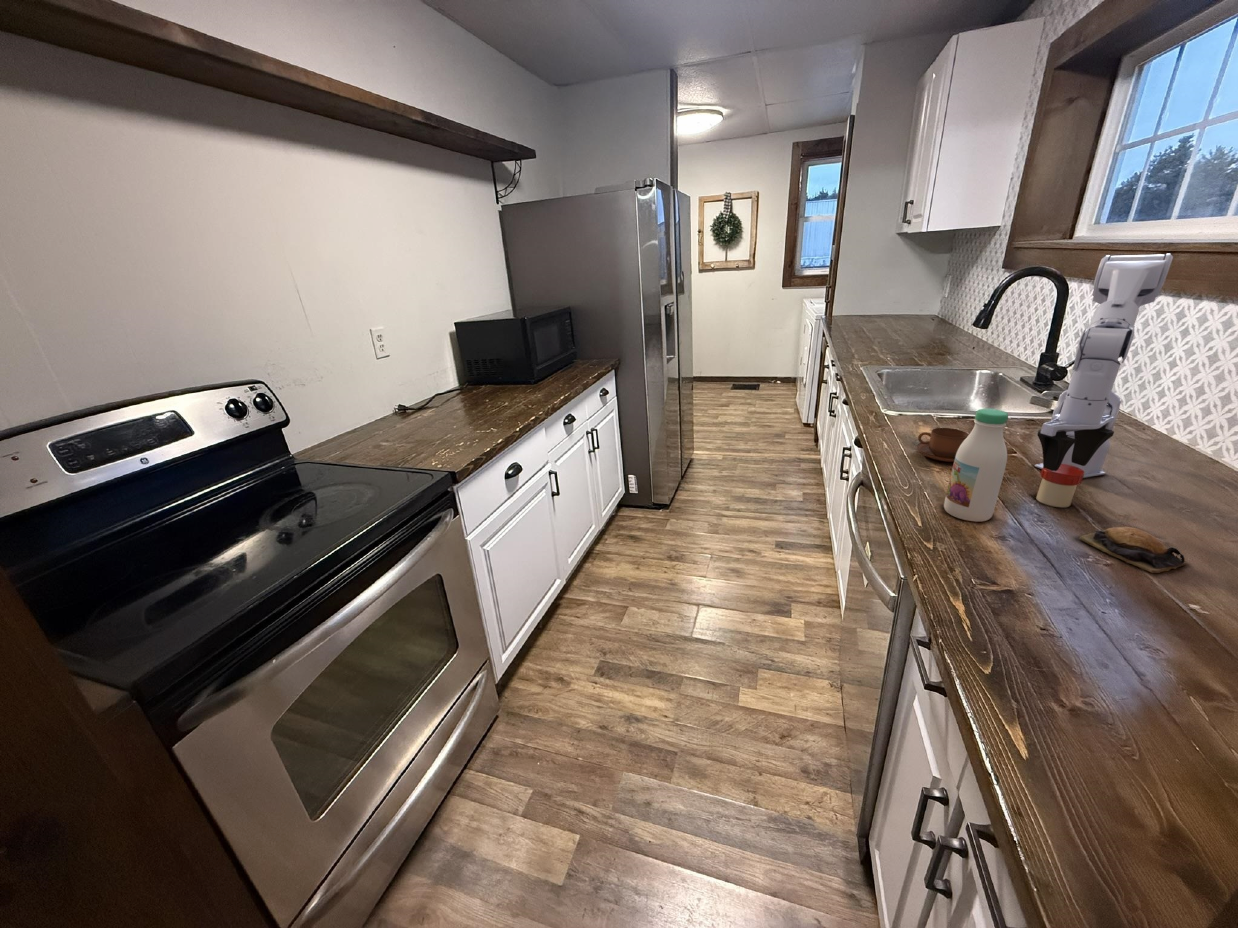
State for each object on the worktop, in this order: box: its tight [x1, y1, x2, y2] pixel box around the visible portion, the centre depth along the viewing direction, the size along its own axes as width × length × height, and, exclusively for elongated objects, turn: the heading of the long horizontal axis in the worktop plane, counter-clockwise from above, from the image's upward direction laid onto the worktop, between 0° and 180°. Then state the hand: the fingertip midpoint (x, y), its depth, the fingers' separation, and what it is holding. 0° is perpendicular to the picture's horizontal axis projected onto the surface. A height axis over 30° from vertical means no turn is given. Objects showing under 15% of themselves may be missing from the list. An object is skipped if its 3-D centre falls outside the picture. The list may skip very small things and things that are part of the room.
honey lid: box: [1039, 464, 1084, 486], centre depth 95 cm, size 6×6×2 cm
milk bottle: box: [943, 408, 1009, 523], centre depth 90 cm, size 8×8×20 cm
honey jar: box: [1035, 477, 1078, 508], centre depth 96 cm, size 5×5×6 cm
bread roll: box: [1079, 526, 1187, 574], centre depth 80 cm, size 11×8×4 cm
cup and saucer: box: [916, 427, 969, 463], centre depth 118 cm, size 12×12×6 cm
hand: (1064, 466), depth 94 cm, fingers open, 6 cm apart
